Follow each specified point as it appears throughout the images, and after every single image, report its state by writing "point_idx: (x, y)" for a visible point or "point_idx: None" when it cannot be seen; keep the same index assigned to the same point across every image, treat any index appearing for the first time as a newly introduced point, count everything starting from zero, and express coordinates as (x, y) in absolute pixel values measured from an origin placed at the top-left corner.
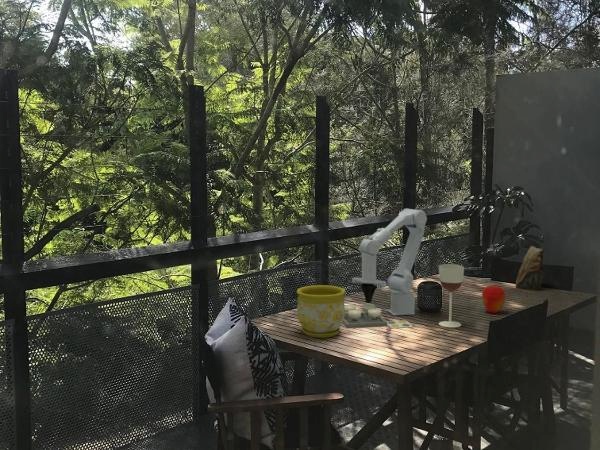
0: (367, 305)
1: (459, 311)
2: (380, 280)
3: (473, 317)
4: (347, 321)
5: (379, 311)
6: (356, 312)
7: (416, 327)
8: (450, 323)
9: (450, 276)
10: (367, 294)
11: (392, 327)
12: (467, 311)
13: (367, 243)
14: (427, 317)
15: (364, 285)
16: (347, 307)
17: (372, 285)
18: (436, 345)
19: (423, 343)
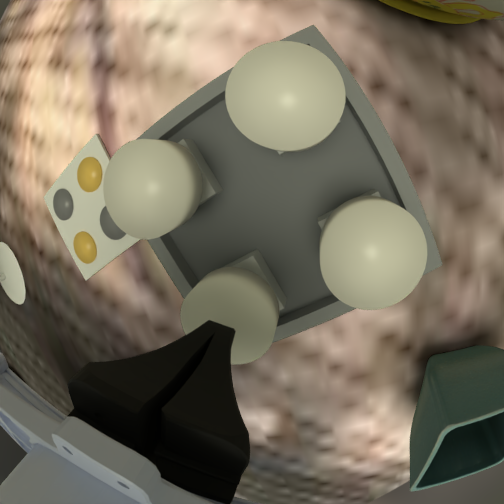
0: (233, 321)
1: (52, 393)
2: (24, 449)
3: (14, 344)
4: (356, 157)
5: (105, 174)
6: (254, 60)
7: (40, 201)
8: (2, 267)
9: None
10: (186, 358)
11: (92, 142)
12: (44, 391)
13: None
14: (65, 339)
15: (199, 463)
16: (386, 210)
17: (83, 420)
18: (4, 56)
19: (20, 46)
